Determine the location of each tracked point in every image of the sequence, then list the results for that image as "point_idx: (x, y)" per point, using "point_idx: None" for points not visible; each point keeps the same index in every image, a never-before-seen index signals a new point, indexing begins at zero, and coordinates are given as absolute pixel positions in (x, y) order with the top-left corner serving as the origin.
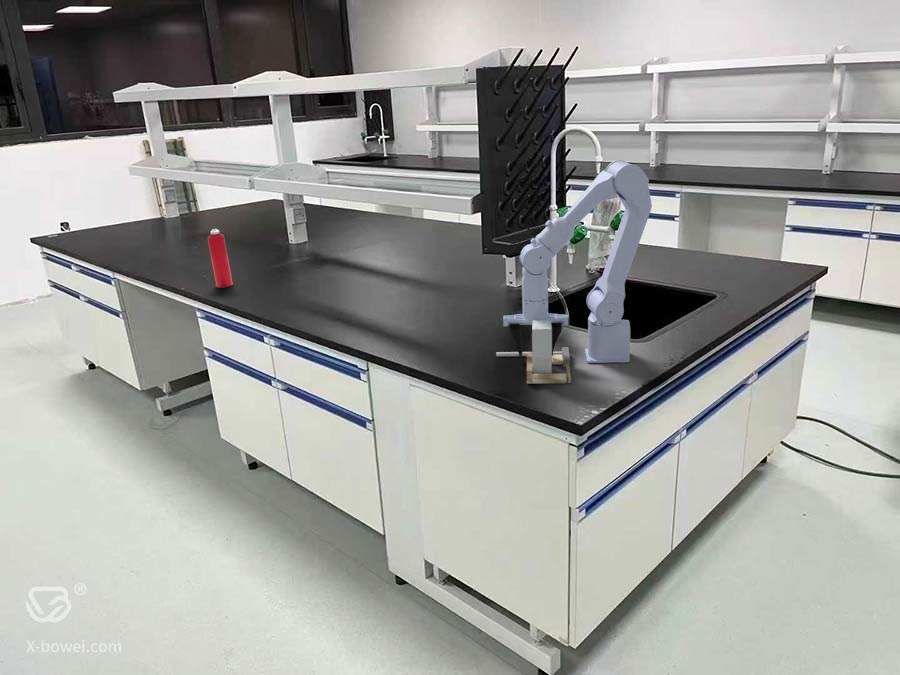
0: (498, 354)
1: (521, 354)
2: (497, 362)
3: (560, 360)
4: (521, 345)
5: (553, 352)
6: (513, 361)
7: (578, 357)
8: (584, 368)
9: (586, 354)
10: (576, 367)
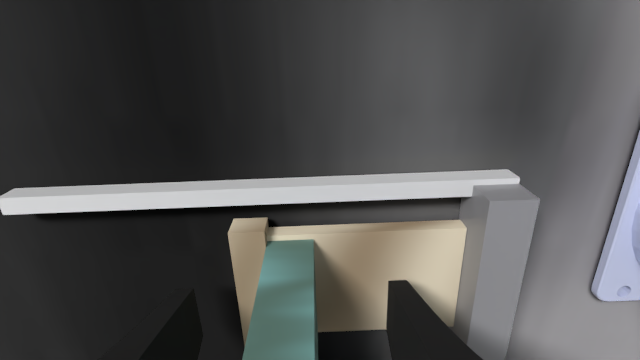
0: (26, 209)
1: (197, 345)
2: (65, 286)
3: (442, 311)
4: (172, 351)
5: (412, 197)
6: (159, 272)
7: (561, 210)
8: (549, 341)
9: (627, 212)
10: (512, 332)
